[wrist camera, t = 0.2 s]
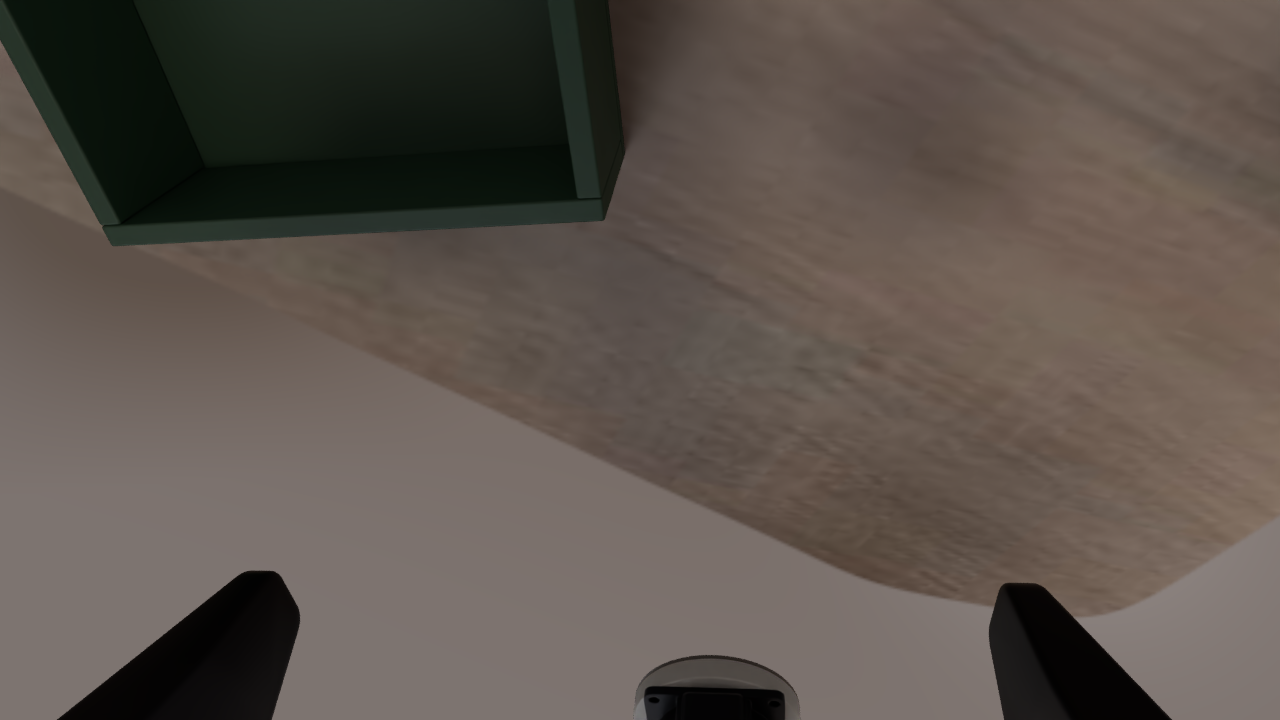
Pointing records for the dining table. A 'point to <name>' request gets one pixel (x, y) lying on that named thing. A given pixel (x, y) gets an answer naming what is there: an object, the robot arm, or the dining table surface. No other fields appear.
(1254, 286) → the dining table surface
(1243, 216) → the dining table surface
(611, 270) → the dining table surface
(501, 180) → the bin
